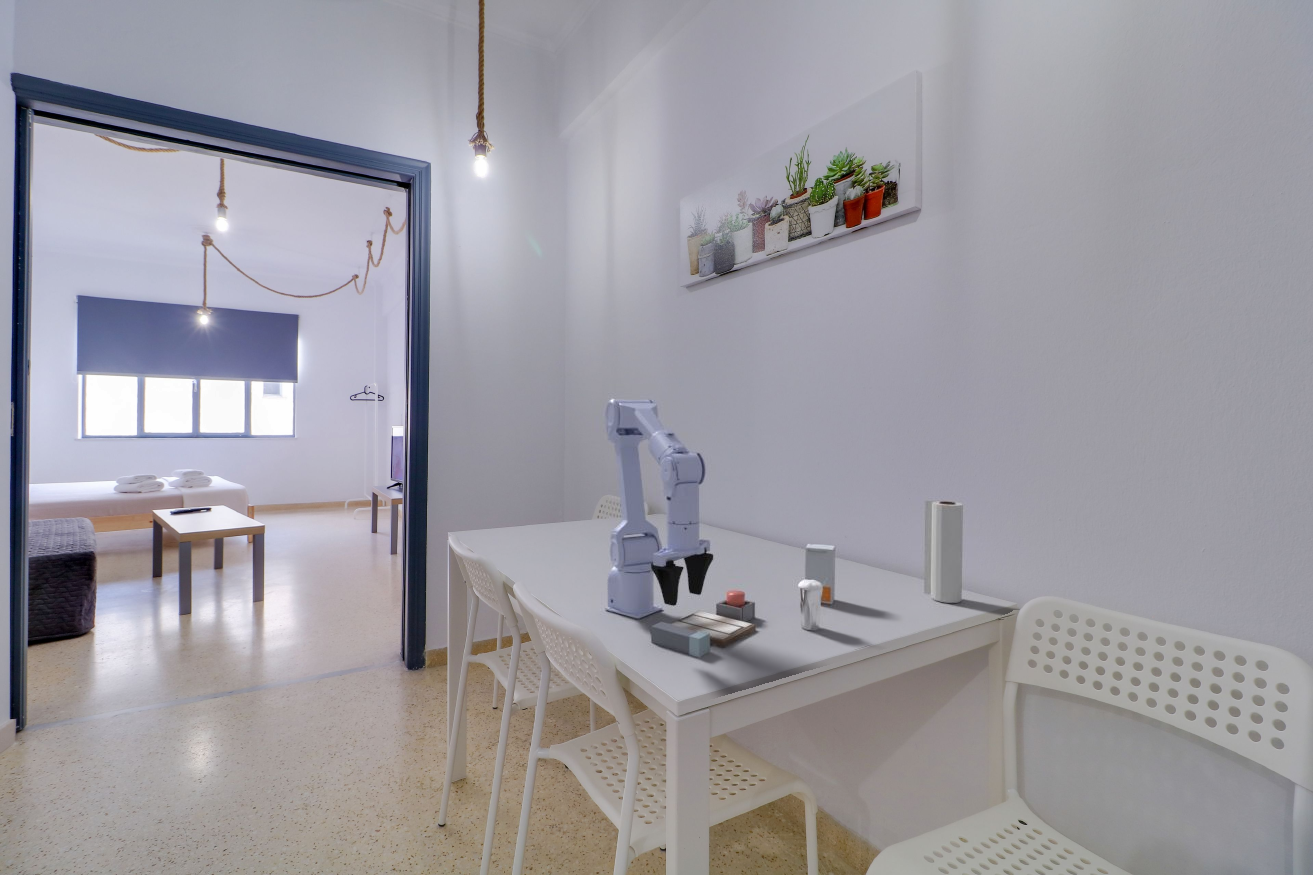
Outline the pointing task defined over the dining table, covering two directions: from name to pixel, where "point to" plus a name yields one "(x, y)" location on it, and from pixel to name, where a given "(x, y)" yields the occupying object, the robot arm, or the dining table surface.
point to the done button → (736, 598)
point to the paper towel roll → (943, 550)
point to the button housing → (736, 611)
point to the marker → (680, 639)
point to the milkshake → (810, 603)
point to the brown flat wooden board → (716, 627)
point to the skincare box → (821, 569)
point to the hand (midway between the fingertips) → (683, 598)
